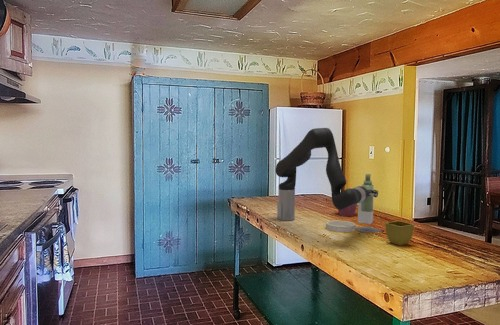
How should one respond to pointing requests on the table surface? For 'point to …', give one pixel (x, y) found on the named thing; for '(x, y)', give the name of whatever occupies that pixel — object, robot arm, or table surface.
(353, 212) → the plant pot
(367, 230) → the mat
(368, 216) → the milk carton
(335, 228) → the bowl
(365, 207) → the olive bottle
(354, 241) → the table surface
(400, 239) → the flower pot
